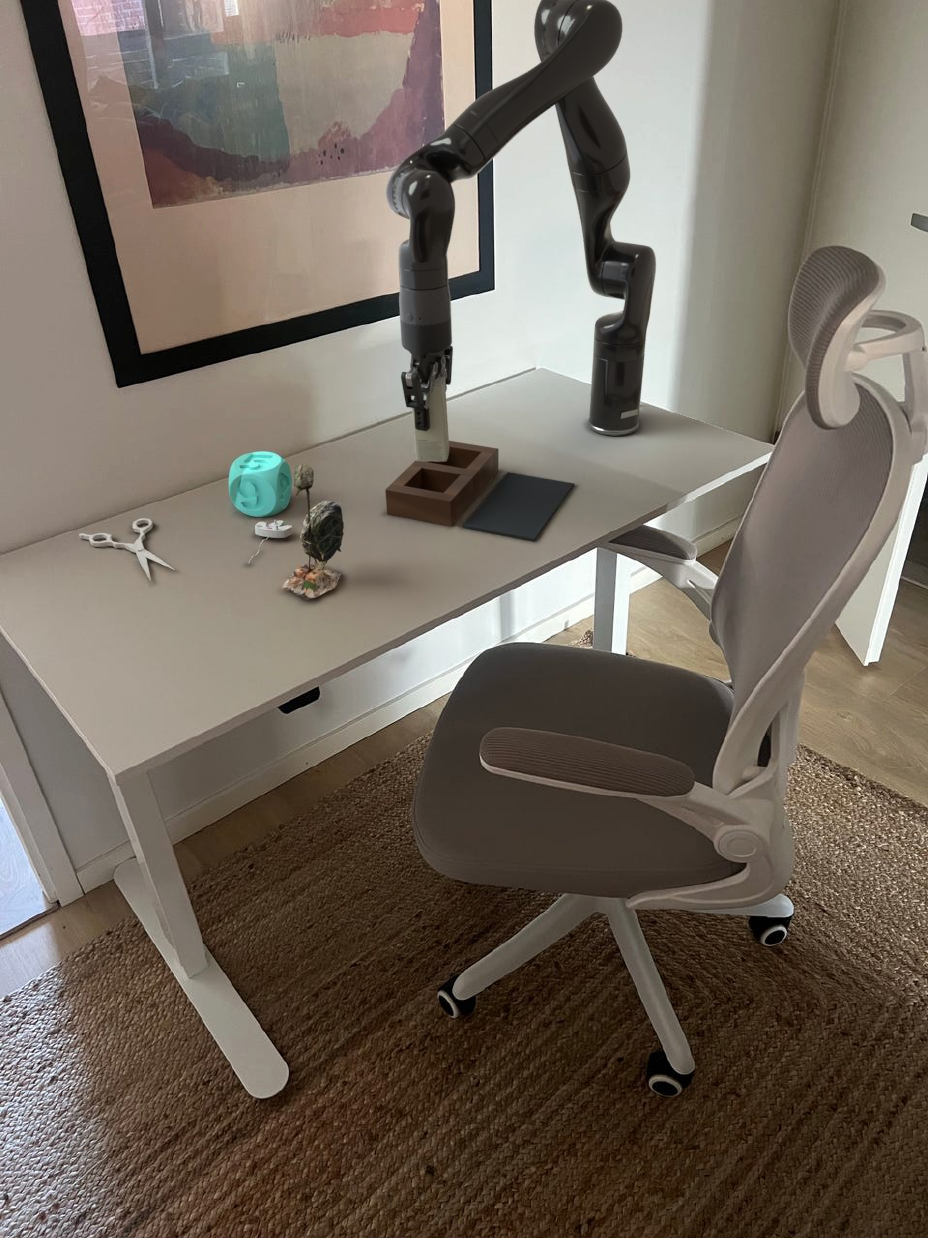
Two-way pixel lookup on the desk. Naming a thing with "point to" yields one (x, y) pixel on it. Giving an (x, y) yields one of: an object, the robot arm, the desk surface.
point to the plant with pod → (316, 541)
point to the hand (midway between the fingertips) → (430, 421)
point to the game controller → (272, 530)
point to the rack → (442, 484)
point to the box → (434, 427)
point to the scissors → (135, 547)
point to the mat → (519, 506)
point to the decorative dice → (260, 484)
